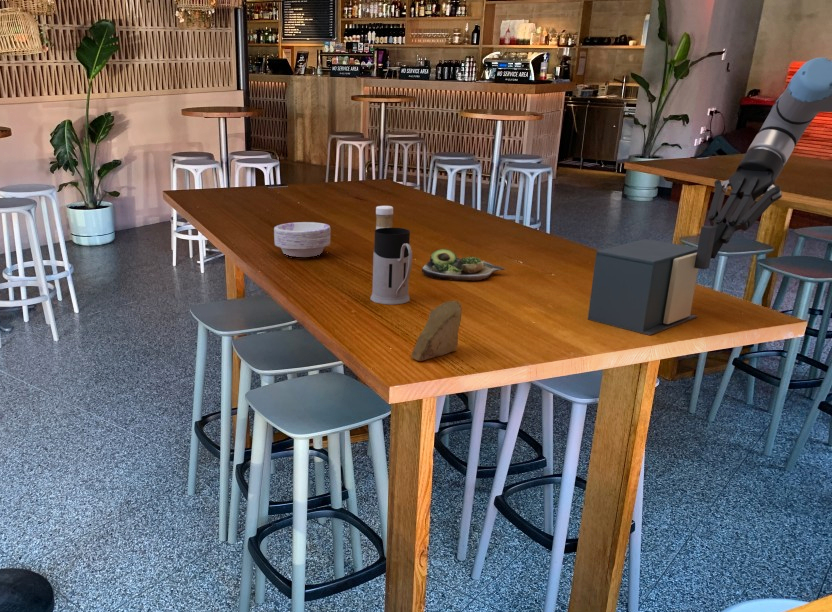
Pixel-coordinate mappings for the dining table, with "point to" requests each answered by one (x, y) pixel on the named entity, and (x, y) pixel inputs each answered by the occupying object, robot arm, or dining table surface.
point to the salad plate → (457, 267)
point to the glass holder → (391, 266)
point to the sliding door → (687, 277)
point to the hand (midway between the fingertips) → (709, 253)
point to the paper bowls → (302, 238)
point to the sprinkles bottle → (384, 217)
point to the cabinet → (635, 285)
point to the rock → (439, 332)
